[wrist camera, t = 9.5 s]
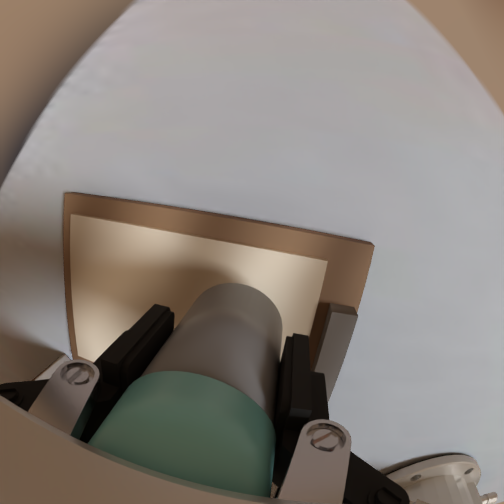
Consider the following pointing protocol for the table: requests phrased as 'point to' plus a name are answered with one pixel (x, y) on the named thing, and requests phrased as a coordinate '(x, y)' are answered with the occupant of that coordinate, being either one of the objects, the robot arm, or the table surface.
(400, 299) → the table surface
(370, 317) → the table surface
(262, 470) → the teal capped cylinder
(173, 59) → the table surface
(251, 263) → the clipboard
